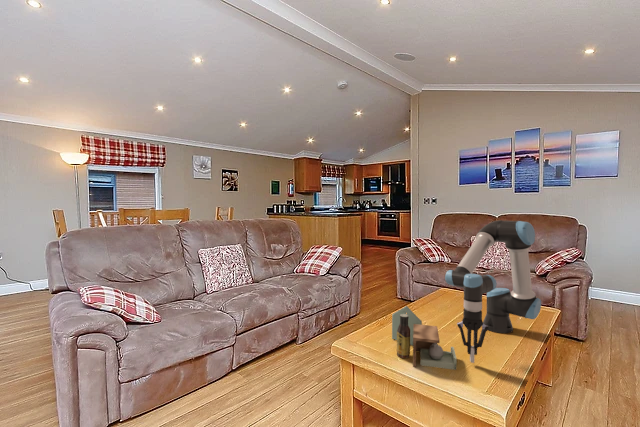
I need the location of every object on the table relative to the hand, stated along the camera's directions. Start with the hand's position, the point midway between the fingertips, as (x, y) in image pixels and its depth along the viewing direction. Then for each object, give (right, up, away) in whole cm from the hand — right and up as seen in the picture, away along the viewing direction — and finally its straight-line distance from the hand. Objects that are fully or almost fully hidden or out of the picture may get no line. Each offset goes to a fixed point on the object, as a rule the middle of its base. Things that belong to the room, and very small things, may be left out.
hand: (472, 361), depth 148 cm
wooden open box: (-19, -2, +5) cm, 20 cm away
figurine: (-15, -1, +4) cm, 15 cm away
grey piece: (-21, -1, +26) cm, 33 cm away
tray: (-14, -2, +4) cm, 15 cm away
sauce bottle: (-29, -2, +9) cm, 30 cm away
